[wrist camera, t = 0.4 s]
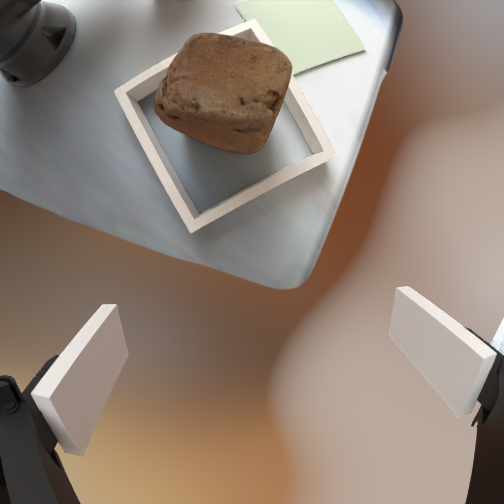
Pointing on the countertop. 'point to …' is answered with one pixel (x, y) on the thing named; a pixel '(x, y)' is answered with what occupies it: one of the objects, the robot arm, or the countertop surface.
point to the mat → (304, 30)
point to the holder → (192, 219)
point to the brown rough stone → (224, 91)
